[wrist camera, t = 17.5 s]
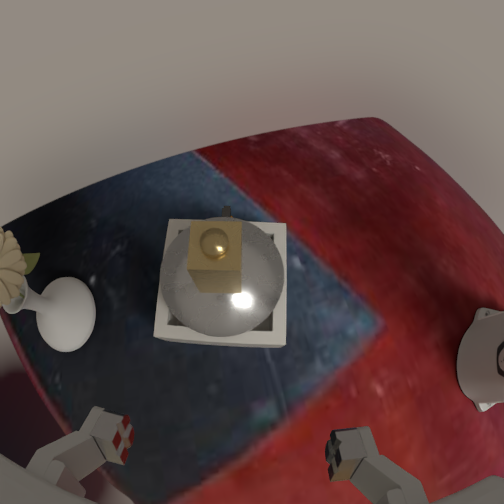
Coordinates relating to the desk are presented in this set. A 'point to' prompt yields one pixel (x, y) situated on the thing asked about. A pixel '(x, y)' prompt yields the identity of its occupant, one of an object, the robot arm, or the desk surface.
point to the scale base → (261, 336)
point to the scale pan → (224, 304)
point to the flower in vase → (46, 298)
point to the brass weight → (216, 256)
